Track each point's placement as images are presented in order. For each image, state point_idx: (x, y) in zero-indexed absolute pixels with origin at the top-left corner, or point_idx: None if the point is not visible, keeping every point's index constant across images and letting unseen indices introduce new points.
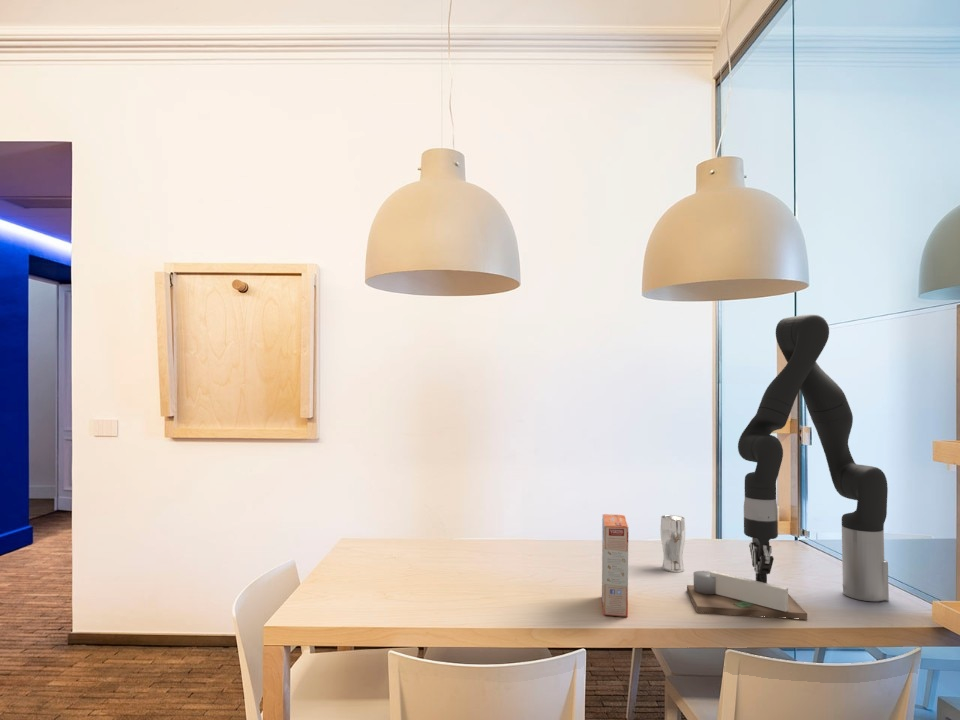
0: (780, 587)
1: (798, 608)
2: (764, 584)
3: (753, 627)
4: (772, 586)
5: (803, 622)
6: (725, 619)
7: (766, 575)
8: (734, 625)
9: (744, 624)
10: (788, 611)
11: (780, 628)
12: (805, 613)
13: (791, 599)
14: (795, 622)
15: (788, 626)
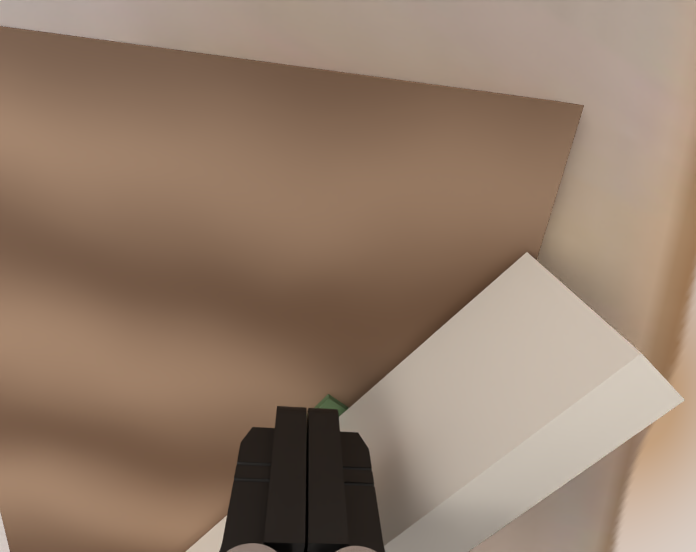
0: (604, 421)
1: (460, 128)
2: (486, 530)
3: (617, 465)
4: (558, 482)
5: (594, 154)
6: (496, 548)
7: (349, 536)
8: (577, 531)
9: (572, 492)
10: (525, 247)
11: (660, 345)
12: (576, 118)
13: (200, 78)
14: (585, 214)
15: (642, 288)
